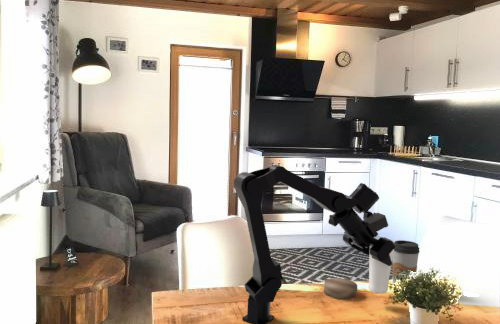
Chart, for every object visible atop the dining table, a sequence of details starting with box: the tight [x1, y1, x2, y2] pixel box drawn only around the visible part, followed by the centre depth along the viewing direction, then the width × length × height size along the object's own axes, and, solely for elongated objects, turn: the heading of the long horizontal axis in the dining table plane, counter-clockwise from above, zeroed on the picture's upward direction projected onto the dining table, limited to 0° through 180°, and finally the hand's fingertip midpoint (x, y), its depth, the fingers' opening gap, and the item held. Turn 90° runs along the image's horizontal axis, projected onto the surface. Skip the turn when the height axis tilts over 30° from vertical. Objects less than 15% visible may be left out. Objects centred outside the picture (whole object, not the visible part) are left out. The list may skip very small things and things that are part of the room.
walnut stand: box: [323, 277, 358, 301], centre depth 141 cm, size 10×10×3 cm
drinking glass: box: [368, 236, 395, 294], centre depth 132 cm, size 7×7×15 cm
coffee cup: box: [392, 239, 420, 284], centre depth 146 cm, size 8×8×15 cm
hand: (383, 261), depth 132 cm, fingers closed on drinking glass, 7 cm apart
